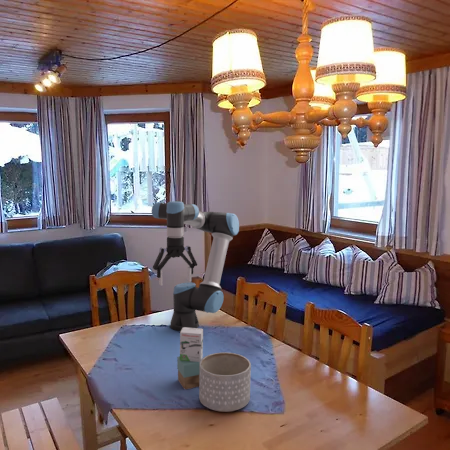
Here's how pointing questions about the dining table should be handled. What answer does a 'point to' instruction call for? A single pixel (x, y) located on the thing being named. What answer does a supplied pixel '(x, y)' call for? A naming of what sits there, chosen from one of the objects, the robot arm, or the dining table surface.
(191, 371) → the tower top block
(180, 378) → the tower bottom block
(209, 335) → the dining table surface
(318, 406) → the dining table surface
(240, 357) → the planter
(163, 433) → the dining table surface
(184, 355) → the ink box
